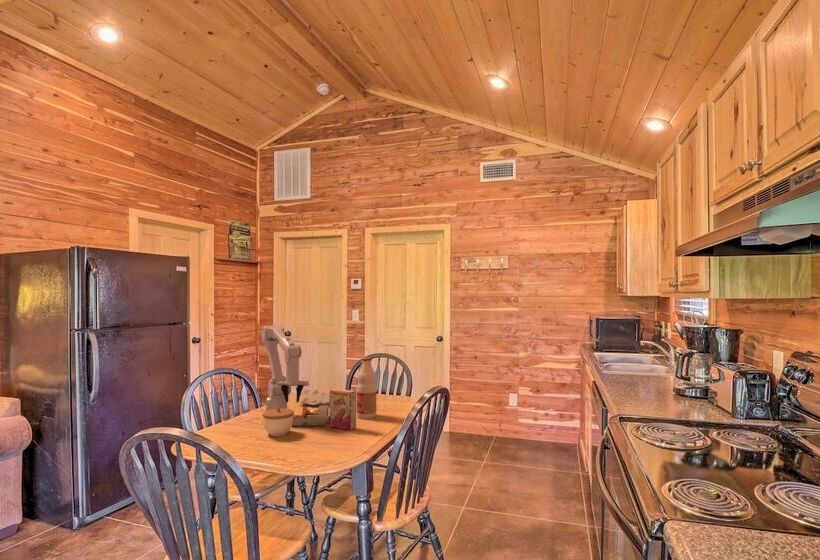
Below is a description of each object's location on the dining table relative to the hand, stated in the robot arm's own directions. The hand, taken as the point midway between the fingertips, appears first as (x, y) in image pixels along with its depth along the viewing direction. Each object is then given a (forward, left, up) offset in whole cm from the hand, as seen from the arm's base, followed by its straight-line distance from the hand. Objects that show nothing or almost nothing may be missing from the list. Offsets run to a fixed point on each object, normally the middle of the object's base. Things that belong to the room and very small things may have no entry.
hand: (292, 401), depth 212 cm
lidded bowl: (-2, -16, -10) cm, 19 cm away
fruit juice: (+33, +10, -10) cm, 36 cm away
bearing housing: (+9, 0, -9) cm, 13 cm away
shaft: (+9, 0, -7) cm, 12 cm away
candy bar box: (+24, -8, -10) cm, 27 cm away
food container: (+10, +31, -10) cm, 34 cm away
